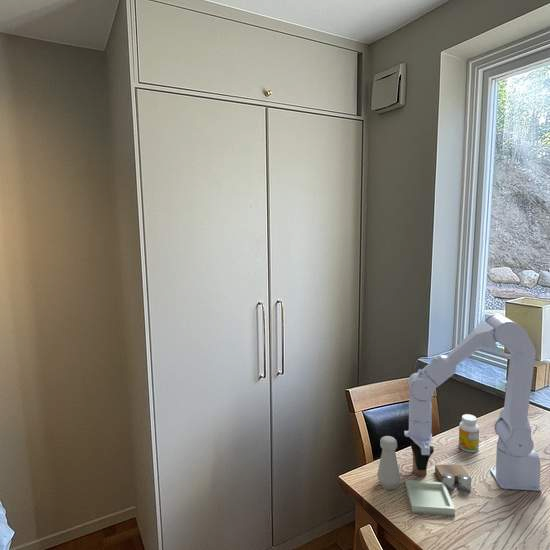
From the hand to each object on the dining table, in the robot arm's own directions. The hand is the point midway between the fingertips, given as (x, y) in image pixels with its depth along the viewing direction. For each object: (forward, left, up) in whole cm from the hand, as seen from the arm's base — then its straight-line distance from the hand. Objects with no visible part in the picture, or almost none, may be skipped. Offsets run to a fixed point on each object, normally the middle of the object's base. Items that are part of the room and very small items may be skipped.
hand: (419, 464), depth 109 cm
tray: (0, +11, -2) cm, 11 cm away
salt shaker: (+9, +6, -3) cm, 11 cm away
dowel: (0, 0, -2) cm, 2 cm away
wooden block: (-8, +1, -3) cm, 9 cm away
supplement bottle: (-17, -14, -3) cm, 22 cm away
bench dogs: (-8, +5, -2) cm, 10 cm away
